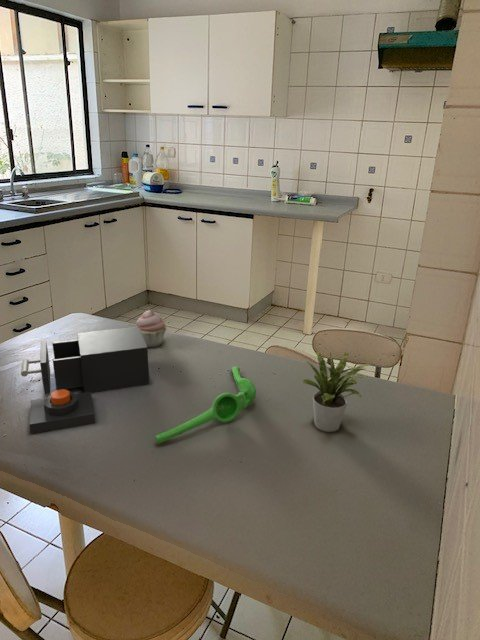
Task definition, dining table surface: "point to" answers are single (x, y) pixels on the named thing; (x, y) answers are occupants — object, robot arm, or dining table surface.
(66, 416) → the panel
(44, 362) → the basket drawer
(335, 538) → the dining table surface
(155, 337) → the cupcake
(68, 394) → the button
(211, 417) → the lime squeezer
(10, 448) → the dining table surface
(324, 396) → the house plant
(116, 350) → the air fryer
